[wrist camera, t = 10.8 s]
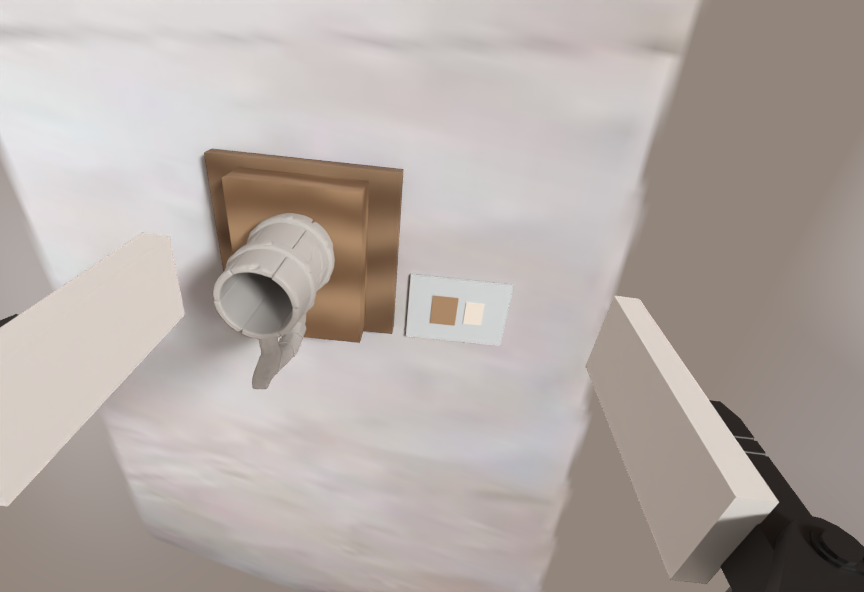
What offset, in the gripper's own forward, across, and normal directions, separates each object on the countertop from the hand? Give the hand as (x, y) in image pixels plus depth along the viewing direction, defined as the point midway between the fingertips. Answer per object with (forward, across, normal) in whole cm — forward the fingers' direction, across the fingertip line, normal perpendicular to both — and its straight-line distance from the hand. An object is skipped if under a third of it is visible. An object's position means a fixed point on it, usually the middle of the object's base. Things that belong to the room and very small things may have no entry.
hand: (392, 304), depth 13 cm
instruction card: (+30, +6, -19) cm, 36 cm away
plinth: (+30, -11, -14) cm, 35 cm away
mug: (+26, -11, -14) cm, 31 cm away
